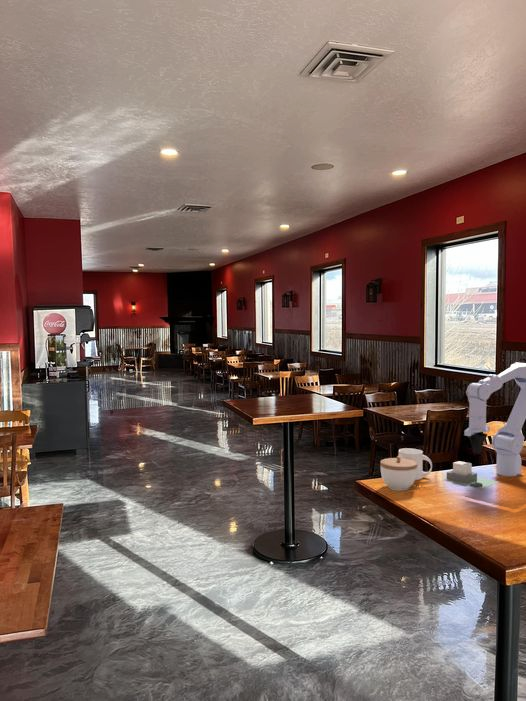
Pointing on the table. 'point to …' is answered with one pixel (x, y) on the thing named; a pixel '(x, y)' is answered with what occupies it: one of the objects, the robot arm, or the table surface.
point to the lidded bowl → (398, 473)
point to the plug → (462, 468)
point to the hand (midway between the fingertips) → (476, 453)
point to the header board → (469, 480)
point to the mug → (416, 460)
